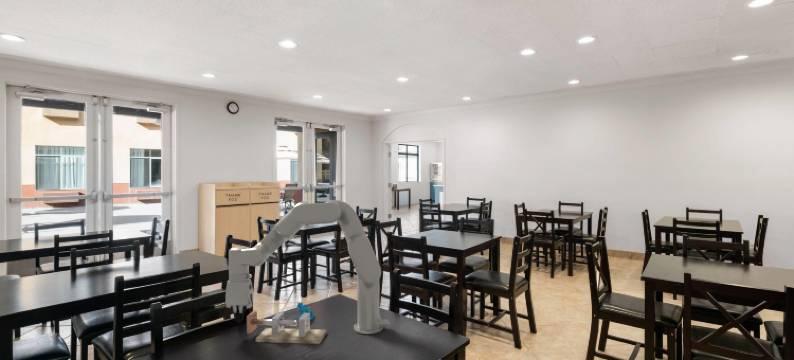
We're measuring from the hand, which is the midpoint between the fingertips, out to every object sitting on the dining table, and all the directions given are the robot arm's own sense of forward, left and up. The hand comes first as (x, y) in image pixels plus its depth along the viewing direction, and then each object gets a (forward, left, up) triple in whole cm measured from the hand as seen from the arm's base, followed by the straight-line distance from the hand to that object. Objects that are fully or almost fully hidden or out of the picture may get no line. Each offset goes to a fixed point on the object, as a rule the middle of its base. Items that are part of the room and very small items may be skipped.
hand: (239, 321), depth 161 cm
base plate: (-22, 0, -6) cm, 23 cm away
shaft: (-14, 0, -4) cm, 15 cm away
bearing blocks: (-22, 0, -5) cm, 22 cm away
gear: (-22, -20, -6) cm, 30 cm away
